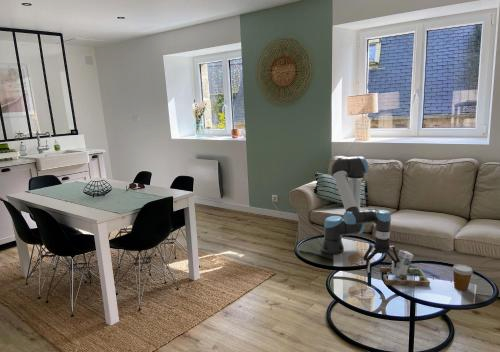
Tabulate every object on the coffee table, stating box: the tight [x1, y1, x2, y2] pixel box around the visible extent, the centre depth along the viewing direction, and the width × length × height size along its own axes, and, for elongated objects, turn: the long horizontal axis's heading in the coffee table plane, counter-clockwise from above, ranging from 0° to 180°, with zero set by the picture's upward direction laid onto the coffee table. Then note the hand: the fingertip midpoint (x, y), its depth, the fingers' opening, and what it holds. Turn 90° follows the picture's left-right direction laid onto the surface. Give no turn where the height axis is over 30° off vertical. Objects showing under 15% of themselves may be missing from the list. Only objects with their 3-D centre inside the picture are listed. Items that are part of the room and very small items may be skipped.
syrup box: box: [393, 249, 414, 278], centre depth 212 cm, size 6×6×14 cm
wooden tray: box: [379, 266, 431, 288], centre depth 210 cm, size 23×16×3 cm
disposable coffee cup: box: [452, 263, 474, 292], centre depth 197 cm, size 10×10×12 cm
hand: (380, 272), depth 214 cm, fingers open, 13 cm apart
